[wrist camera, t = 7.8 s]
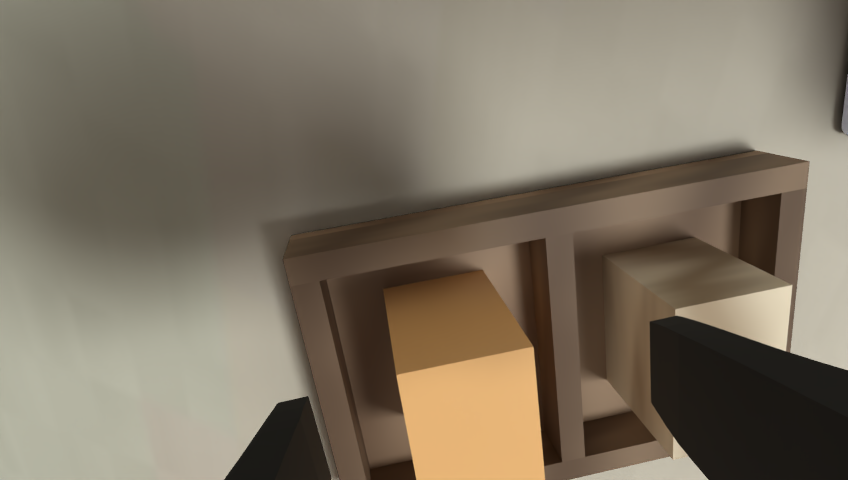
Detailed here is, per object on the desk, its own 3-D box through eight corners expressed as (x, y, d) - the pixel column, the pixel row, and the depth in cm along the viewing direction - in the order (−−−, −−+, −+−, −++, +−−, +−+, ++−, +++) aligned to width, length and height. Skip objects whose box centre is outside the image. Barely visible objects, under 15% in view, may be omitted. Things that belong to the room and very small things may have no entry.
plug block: (482, 269, 20) (533, 346, 15) (497, 395, 22) (547, 506, 17) (383, 288, 20) (396, 375, 15) (407, 415, 22) (426, 534, 16)
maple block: (694, 237, 21) (792, 285, 17) (691, 361, 23) (777, 435, 19) (602, 255, 21) (675, 309, 16) (606, 379, 23) (672, 459, 18)
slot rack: (756, 150, 21) (809, 161, 19) (739, 395, 25) (782, 430, 23) (290, 235, 20) (282, 259, 17) (352, 481, 24) (352, 529, 21)
